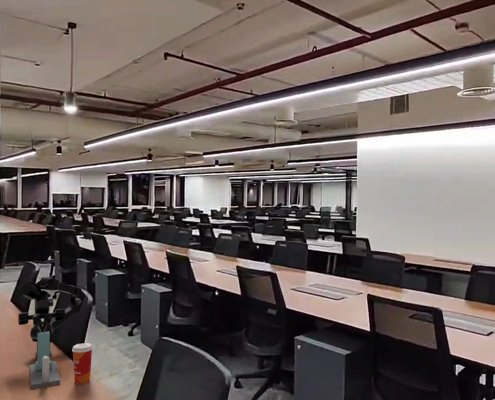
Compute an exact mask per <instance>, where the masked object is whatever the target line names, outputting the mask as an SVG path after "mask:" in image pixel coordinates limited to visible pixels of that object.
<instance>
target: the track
mask: <svg viewBox="0 0 495 400" xmlns="http://www.w3.org/2000/svg"><path fill="white" fill-rule="evenodd" d="M51 361H52V360H51ZM29 373H30V374H29V376H30V388H31V389H39V388H44V387H50V386H56V385H60V384H61V379H60V375H59V369H58V365H57V362H56V360H53V361H52V368H49V357H47V356H44V357H43V358H42V370H36V367H35V363H33V364H29Z"/></svg>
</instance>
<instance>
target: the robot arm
mask: <svg viewBox="0 0 495 400" xmlns="http://www.w3.org/2000/svg"><path fill="white" fill-rule="evenodd" d="M49 291H58V292H62V293H66V294H69V299H68V300H69V304H68V306H67V307H66V308H57V309H54V310H55V311H54V312H50V308H51V307H53V306H54V298H50V297H52V294H50V293H49ZM19 293H20V295H22V296H24V297H25V298H27V299H29V300H34V313H33V314H30V313H29V311H27V312H26V311H25V312H20V313H18V320H17V321H18V326H22V325H23V326H24V325H27V324H28V323H29V321H32V325H33V326H32V328H31V329H30V333H29V336H30V338H31V341H32V342H35V343H36V352H35V358H37V359H38V333H39V332H47V331H49V333H50V344H52V343H53V342H55V340H56V335H55V334H54V331H55V330H56V329H57V328H58V327H60V326H61V325H62V324H64V323H65V322H67V321H68V320H69V319H71V318H72V317H73V316H75V315H78V314H80V313H79V311H80V308H81V305H82V303H83V301H84V298H85V295H86V294H85V292H83V290H82V288H81V287H80V286H75V285H71V284H67V283H62V282H61V281H60V280H58V279H57V278H55V277H45V276H44V277H42V278H40V280H39V281H36V282H34V281H32V280H28V281H27V283H24V285H22V286H21V288H20V290H19ZM76 296H77V297H76ZM29 314H30V315H29ZM42 319H43V320H42ZM51 356H52V351H51V350H50V357H51Z"/></svg>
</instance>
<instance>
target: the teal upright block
mask: <svg viewBox="0 0 495 400" xmlns="http://www.w3.org/2000/svg"><path fill="white" fill-rule="evenodd" d="M50 351H51V343H50V333H49V331H47V332H39V333H38V358H37V361H35V363H34V364H35V367H36V370H42V358H43V357H44V356H47V357H49V368H52V359H50V357H51V356H50Z"/></svg>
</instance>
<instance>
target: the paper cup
mask: <svg viewBox="0 0 495 400" xmlns="http://www.w3.org/2000/svg"><path fill="white" fill-rule="evenodd" d="M71 351H72V360H73V377H74V384H76V385H84V384H85V385H86V384H88V383H89V382H90V381H91V372H92V369H91V368H92V357H93V355H92V354H93V345H92V344H91V343H89V342H88V343H87V342H86V343H84V342H83V343H77V344H75V345H73V346H72V350H71Z"/></svg>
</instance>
